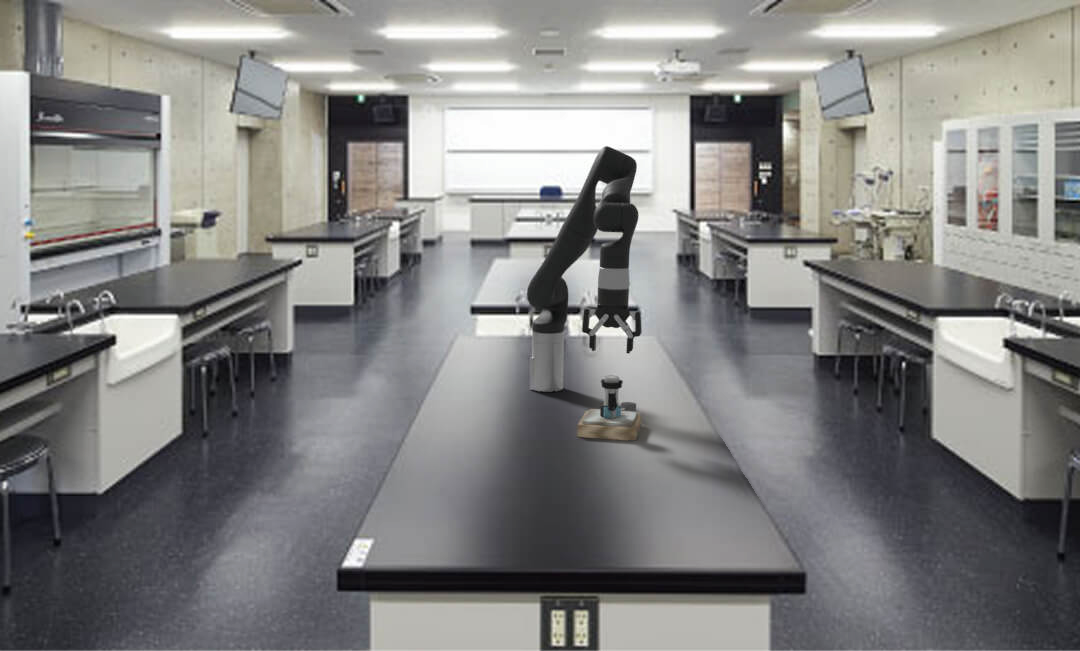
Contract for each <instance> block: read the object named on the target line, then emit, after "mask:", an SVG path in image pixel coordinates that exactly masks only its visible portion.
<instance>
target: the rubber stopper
mask: <svg viewBox="0 0 1080 651" xmlns="http://www.w3.org/2000/svg"><path fill="white" fill-rule="evenodd" d="M620 406H621V409H623V408H624V410H621V411H632V412H637V403H635V402H631V401H624V402H621V403H620Z"/></svg>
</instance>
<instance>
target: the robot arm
mask: <svg viewBox="0 0 1080 651" xmlns="http://www.w3.org/2000/svg"><path fill="white" fill-rule="evenodd" d="M637 164H638V163H637V161H636V160H635V158H633V157H632V156H631V155H628V154H626V153H624V152H621V151H619V150H617V149H616V148H613V147H610V146H608V145H606V146H605V145H604V147H601V149H600V150H599V151H598V153H597V155H596V156H595V158H594V161H593V163H592V165H591V167H590V170H589V172H588V174H587V176H586V179H585V181H584V184H583V185H582V188H581V190H580V192H579V194H578V196H577V199H575V202H574V203H573V206H572V207H571V209H570V211H569V212H568V214H567V217H566V218H565V219H564V222H563V223H562V226H561V228H560V230H559V232H558V234H557V236H556V237H555V240H554V241H553V243H552V245H551V248H550V249H549V251H548V253H547V255H546V257H545V259H544V260H543V261H542V263H541V265H540V267H539V268H538V269H537V271H536V273H535V274H534V275H533V277H532V278H531V280H530V281H529V284H528V286H527V289H526V298H527V302H528V304H529V305H530V306H531V307H532V308H535V309H536V310H537V309H539V310H541V311H540V313H539V316H537V317H536V318H535V319H534V320H533V321H532V326H531V327H532V328H531V330H532V331H531V333H532V335H531V338H532V339H531V341H532V342H531V357H530V358H529V390H531V391H537V392H541V391H542V392H543V393H552V392H553V391H555V392H560V391H562V390H563V389H564V386H563V385H564V351H565V350H564V344H565V342H564V341H565V337H564V336H565V334H564V333H565V325H566V323H567V321H568V309H569V287H568V284H567V281H566V280H565V279H564V278H563V276H564V274H565V273H566V271H567V270H568V269H569V268H570V267H571V266H572V265H573V264H574V263H576V261H578V260H579V259H580V258H581V257H582V256H583V255H584V254H585V253H586V252H587V250H588V248H589V247H590V245H591V243H592V241H593V240H594V237H595V236H596V234H597V232H598V231H599V232H602V233H622V235H621V237H620V238H619V239H617V240H614V241H612V240H611V241H607V242H604V243H602V244H601V245H600V250H599V270H598V278H597V301H596V302H597V305H596V309H595V308H590V307H586V308H584V310H583V318H582V319H583V320H582V328H581V331H582V333H584V334H587V335H588V336H589V343H588V344H589V345H588V346H589V349H591V351H592V352H595V351H596V350H597V347H596V346H597V332H598V331H599V330H600V328H602V327H604V328H613V329H619V328H620V329H622V331H623V332H624V333H625V335H627V338H626V350H625V352H626V354H630V353H631V352H632V351H633V349H634V339H635V338H637V337H640V336H641V334H642V329H643V328H642V311H641V310H636V311H635V310H634V311H631V310H630V308H629V303H630V302H629V299H630V297H629V296H630V285H631V284H630V283H631V282H630V253H631V252H630V250H631V244H632V239H633V236H634V233H635V231H636V228H637V224H638V223H639V210H638V208H637V207H636V205H634V203H631V191H632V188H633V186H634V181H635V179H636V175H637V168H638V166H637ZM599 182H602V183H604V184H606V185H605V187H604V188H603V190H602V193H601V199H600V201H599V202H598V203H596V198H597V197H596V191H597V186H598V184H599ZM593 315H595V316H596V318H597V320H598V322H597V323H596V324H595V325H594V327H592V328H590V319H591V318H592V317H593ZM629 317H631V319H632V320H633V321H635V322H634V323H635V324H634V326H635V330H634V331H633V330H632V328H631V326H630V325H629V324H628V322H627V320H628V319H629Z"/></svg>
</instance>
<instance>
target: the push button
mask: <svg viewBox="0 0 1080 651" xmlns="http://www.w3.org/2000/svg"><path fill="white" fill-rule="evenodd" d="M623 382H624V381H623V380H622V379H620V376H619V375H609V374H608V375H605V376H604V378H602V379H601V380H600V383H601V388H603V389H604V395H603V396H604V398H603V399H604V400H603V401H604V402H603V405H601V406H600V408H599V409H600V416H602V417H604V418H611V417H619V416H620V415H621V414H622V413H625V412H621V410H624V408H623V409H621V405H619V404H620V403H619V389H621V388H622V387H623Z"/></svg>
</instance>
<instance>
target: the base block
mask: <svg viewBox="0 0 1080 651" xmlns="http://www.w3.org/2000/svg"><path fill="white" fill-rule="evenodd" d="M621 412H625V413H622V414H621V415H620V416H619V417H611V418H604V417H602V416H600V408H597V409H596V408H589V410H586V411H585V412H584V414H583V415H582V417H581V419H580V421H579V422H578V423H577V432H576V434H577V438H589V439H602V440H603V439H604V440H616V441H618V440H619V441H628V440H635V439H637V437H638V435H637V434H639V432H640V430H641V427H642V414H641V413H638V411H636V412H632V411H621ZM639 429H640V430H639ZM636 436H637V437H636ZM617 439H618V440H617ZM635 441H636V440H635Z"/></svg>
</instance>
